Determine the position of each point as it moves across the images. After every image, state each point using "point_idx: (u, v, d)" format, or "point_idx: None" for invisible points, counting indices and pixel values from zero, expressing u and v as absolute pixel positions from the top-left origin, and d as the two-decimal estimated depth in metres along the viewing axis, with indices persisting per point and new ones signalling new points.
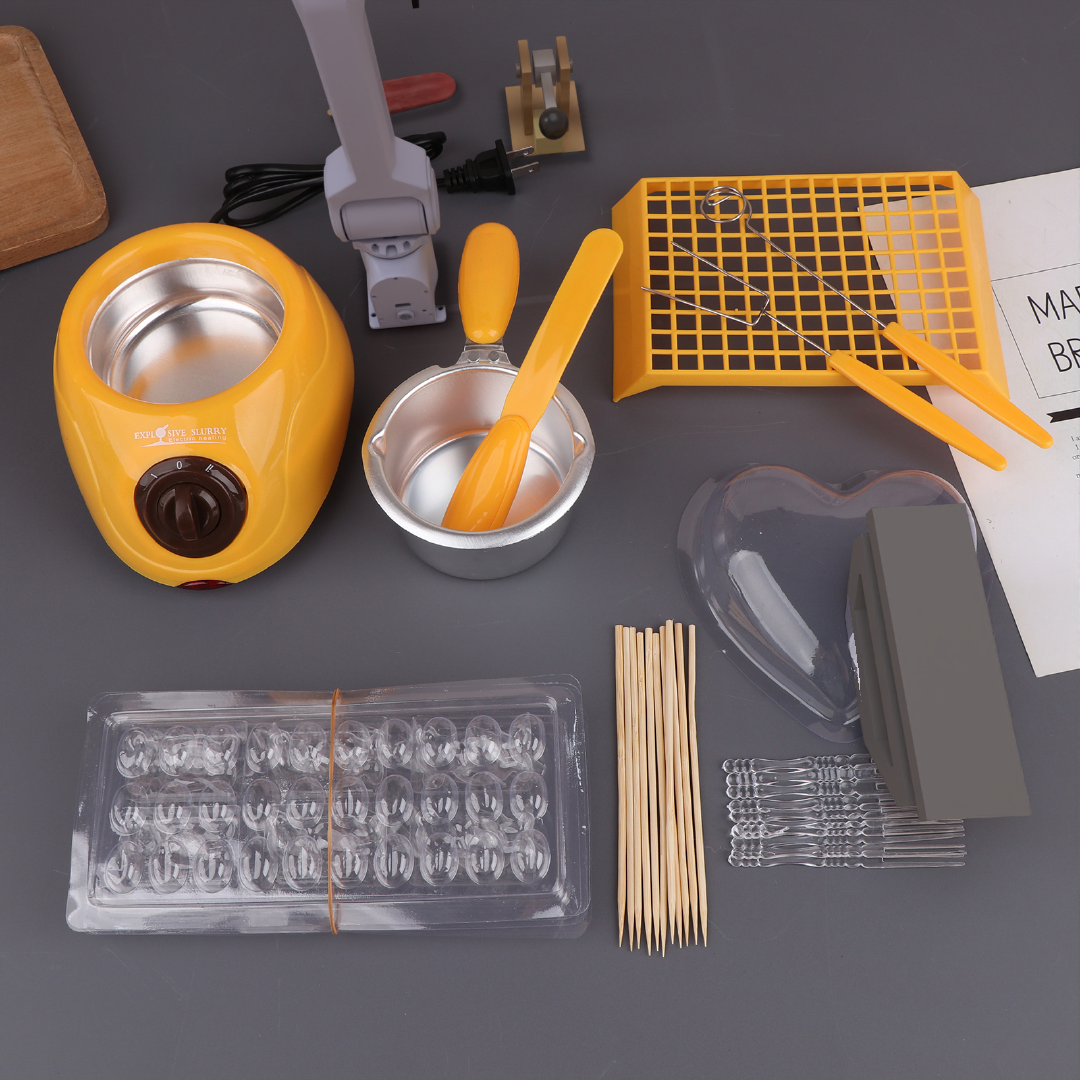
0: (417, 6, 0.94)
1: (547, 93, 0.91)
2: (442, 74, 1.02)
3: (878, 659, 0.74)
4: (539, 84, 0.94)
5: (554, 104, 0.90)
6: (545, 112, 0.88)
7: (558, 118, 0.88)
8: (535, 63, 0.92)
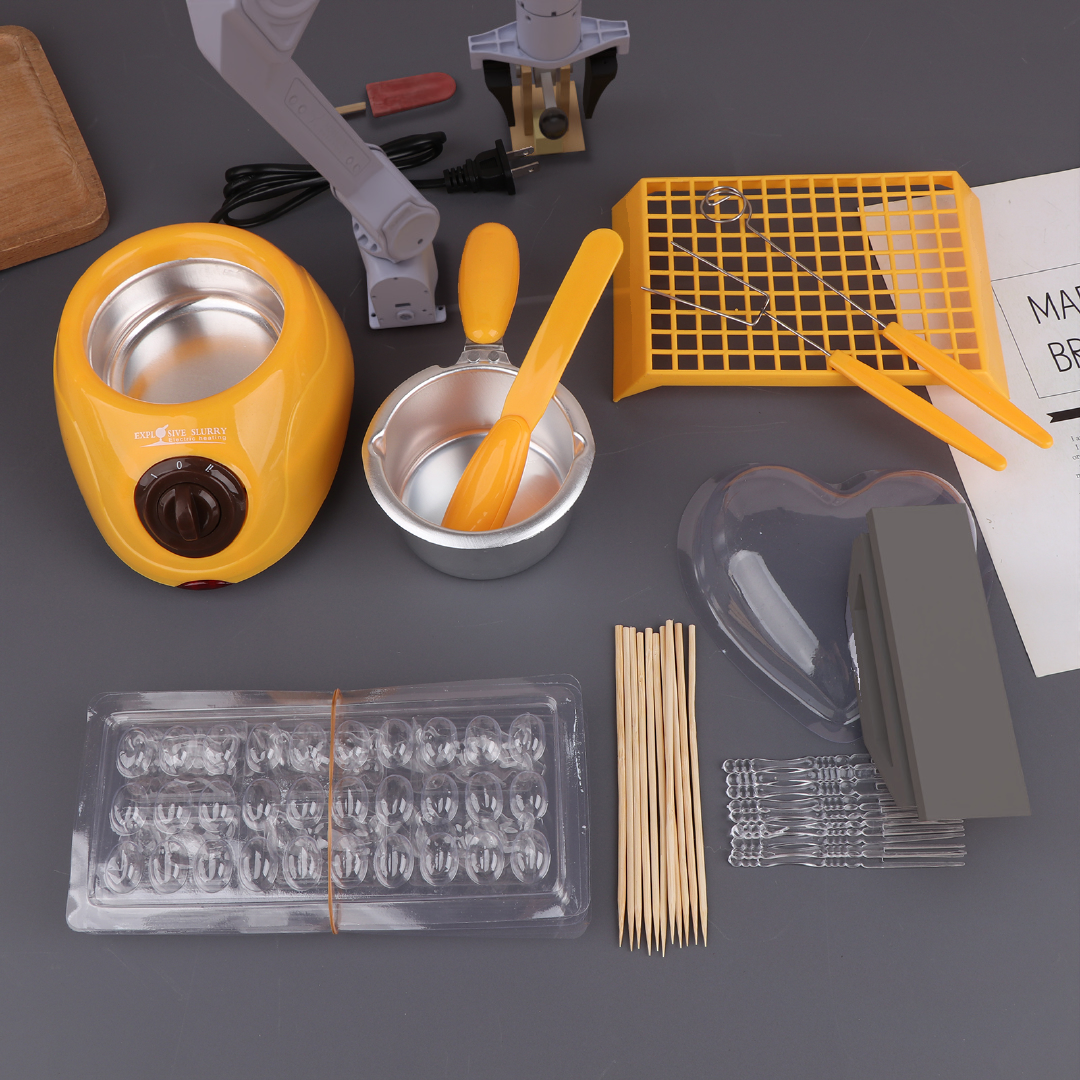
0: (590, 117, 0.88)
1: (547, 93, 0.91)
2: (442, 74, 1.02)
3: (878, 659, 0.74)
4: (539, 84, 0.94)
5: (554, 104, 0.90)
6: (545, 112, 0.88)
7: (558, 118, 0.88)
8: None
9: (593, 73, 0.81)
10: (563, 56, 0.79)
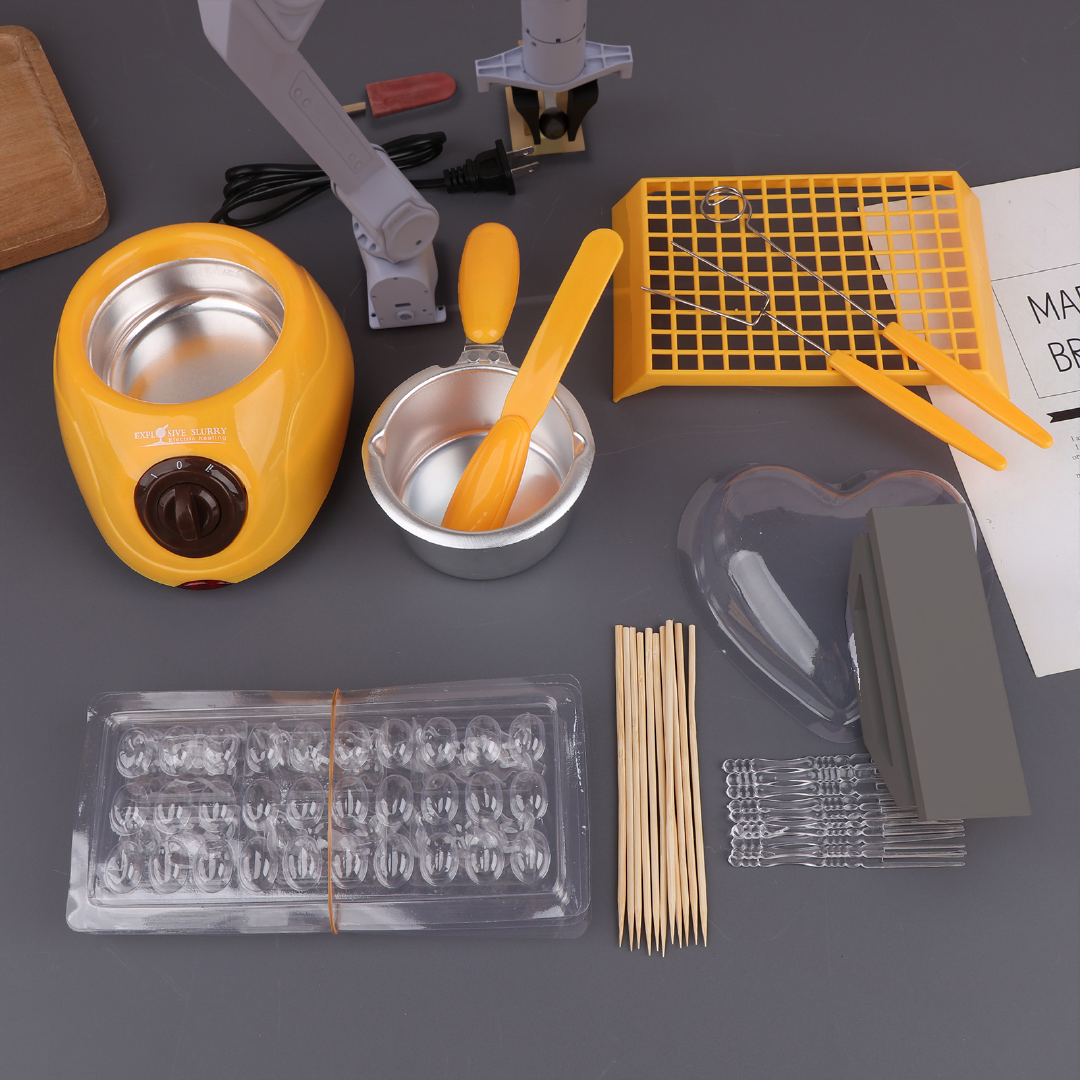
0: (573, 139, 0.90)
1: (547, 93, 0.91)
2: (442, 74, 1.02)
3: (878, 659, 0.74)
4: None
5: (554, 104, 0.90)
6: (545, 112, 0.88)
7: (558, 118, 0.88)
8: None
9: (574, 99, 0.83)
10: (568, 80, 0.81)
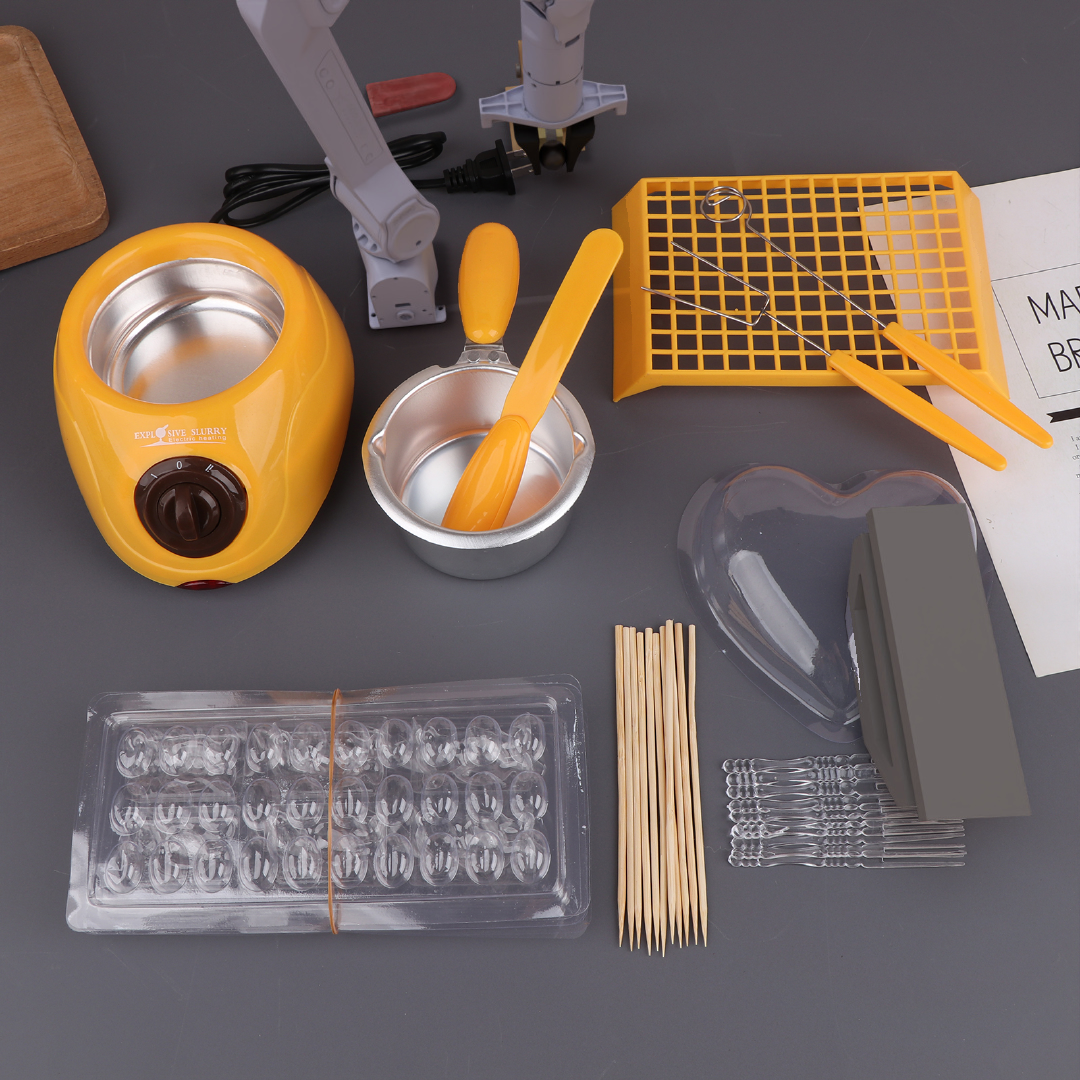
0: (571, 170, 0.95)
1: None
2: (442, 74, 1.02)
3: (878, 659, 0.74)
4: None
5: (554, 131, 0.94)
6: (546, 150, 0.93)
7: (558, 158, 0.93)
8: None
9: (572, 134, 0.88)
10: (566, 118, 0.86)
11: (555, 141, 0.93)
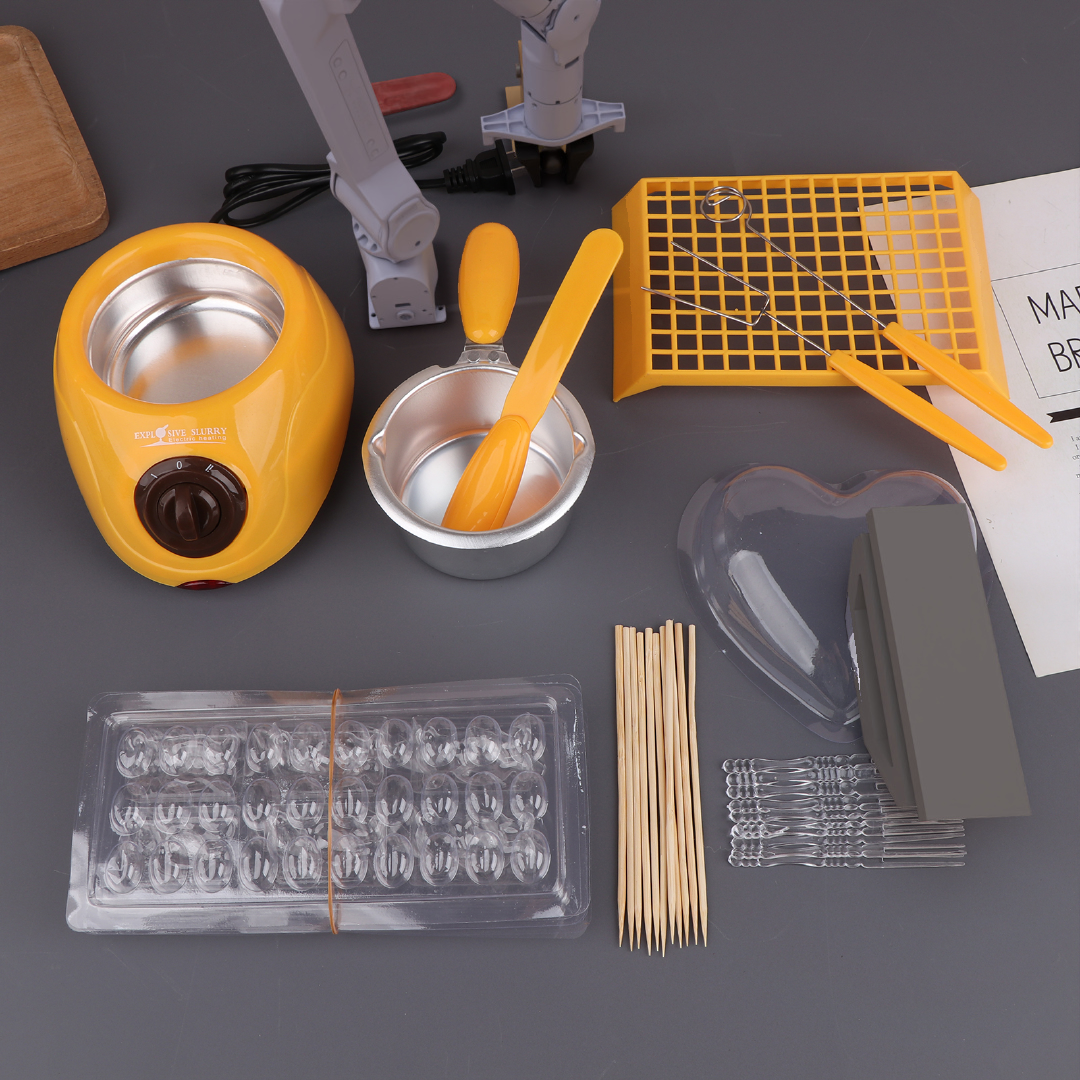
0: None
1: None
2: (442, 74, 1.02)
3: (878, 659, 0.74)
4: None
5: None
6: (545, 156, 0.94)
7: (557, 164, 0.95)
8: None
9: (572, 151, 0.91)
10: (566, 136, 0.89)
11: (554, 147, 0.94)
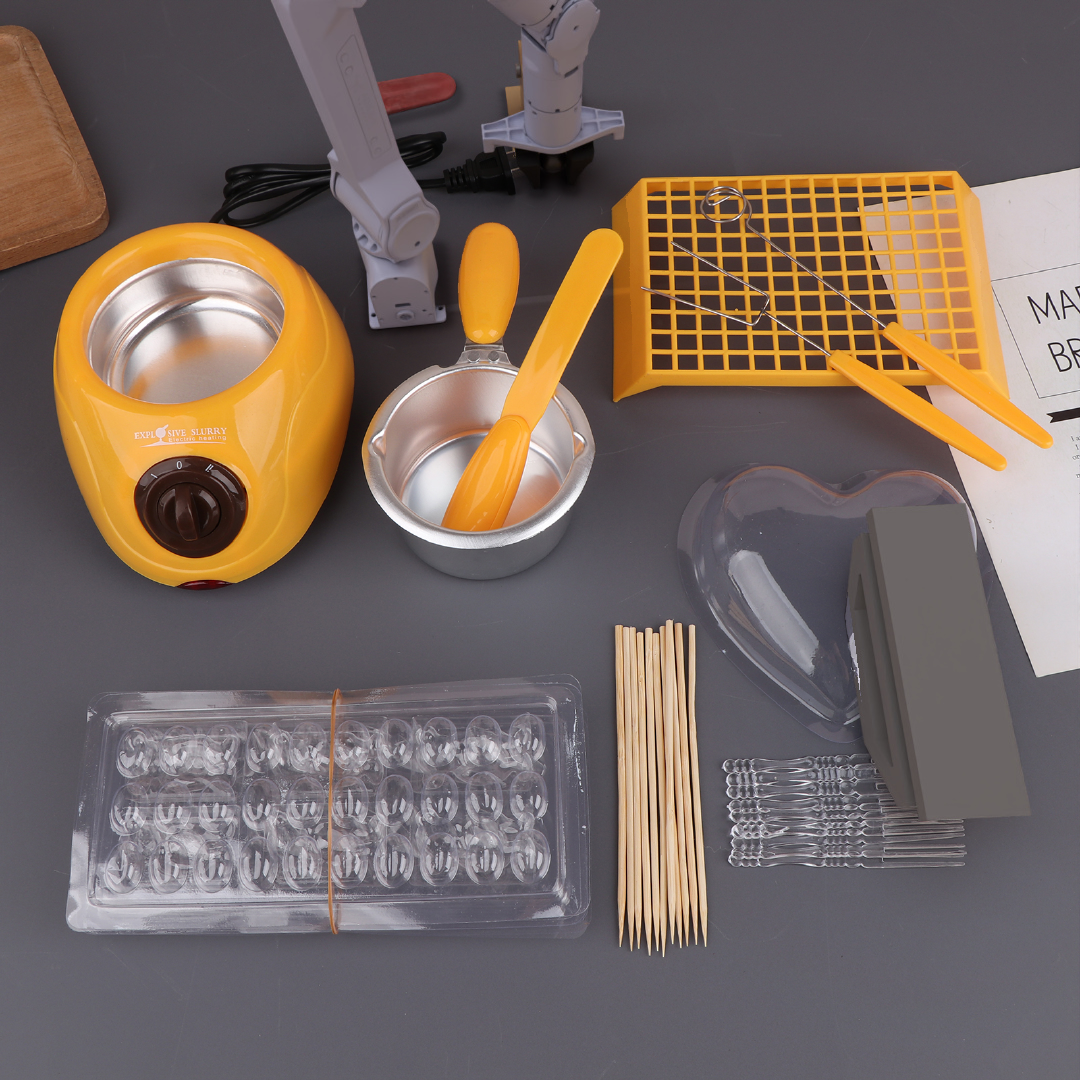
0: None
1: None
2: (442, 74, 1.02)
3: (878, 658, 0.74)
4: None
5: None
6: (545, 154, 0.94)
7: (557, 162, 0.94)
8: None
9: (572, 158, 0.92)
10: (565, 143, 0.89)
11: None
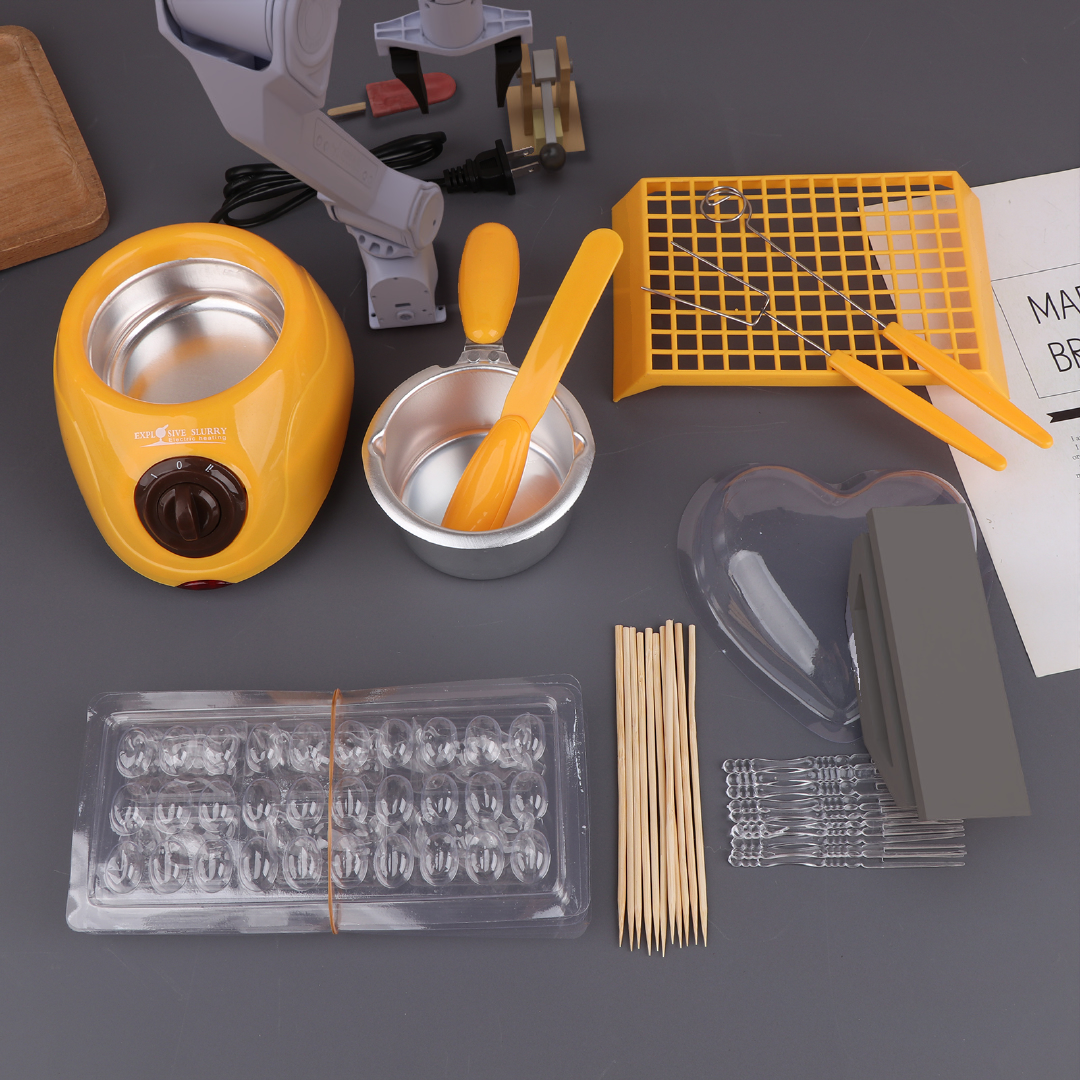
0: (502, 105, 0.90)
1: (547, 115, 0.94)
2: (442, 74, 1.02)
3: (878, 659, 0.74)
4: (538, 86, 0.95)
5: (554, 133, 0.94)
6: (545, 153, 0.94)
7: (557, 161, 0.94)
8: (536, 73, 0.93)
9: (497, 61, 0.83)
10: (465, 44, 0.81)
11: (555, 144, 0.94)
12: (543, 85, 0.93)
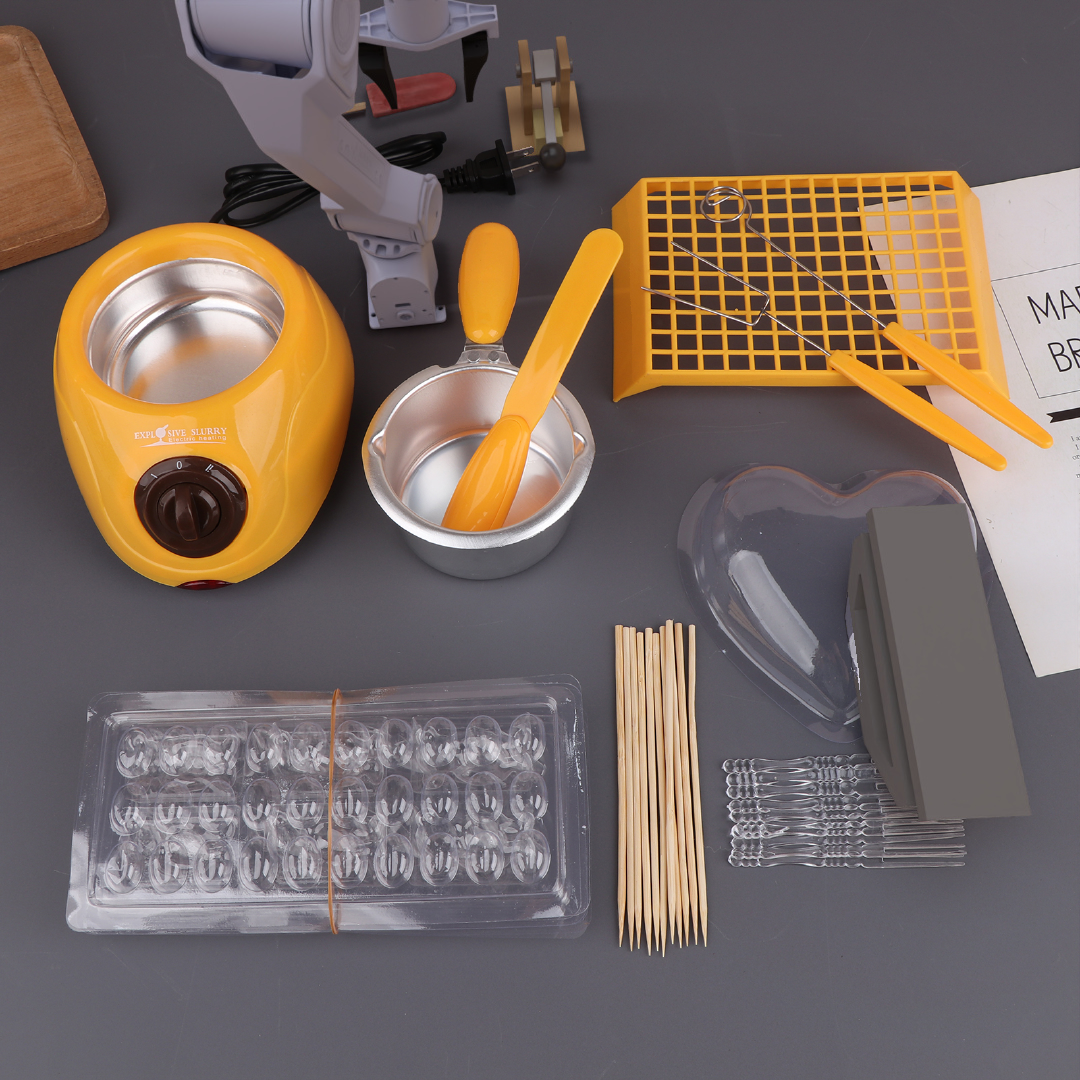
0: (471, 100, 0.90)
1: (547, 115, 0.94)
2: (442, 74, 1.02)
3: (878, 659, 0.74)
4: (538, 86, 0.95)
5: (554, 133, 0.94)
6: (545, 153, 0.94)
7: (557, 161, 0.94)
8: (536, 73, 0.93)
9: (464, 56, 0.83)
10: (431, 39, 0.81)
11: (555, 144, 0.94)
12: (543, 85, 0.93)
